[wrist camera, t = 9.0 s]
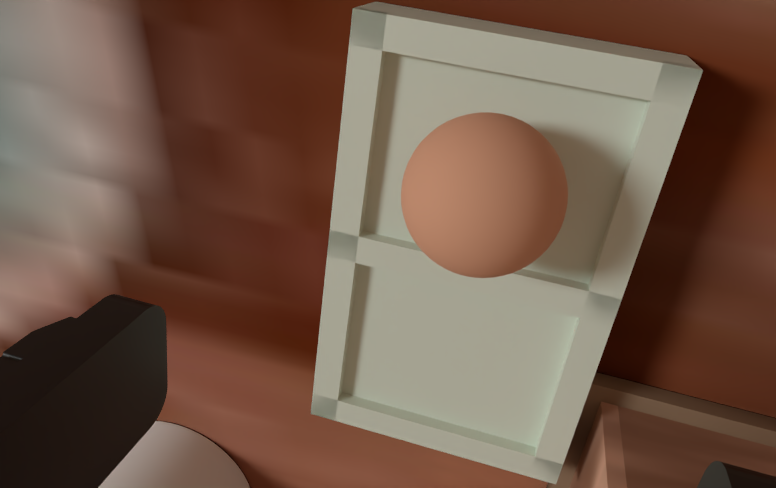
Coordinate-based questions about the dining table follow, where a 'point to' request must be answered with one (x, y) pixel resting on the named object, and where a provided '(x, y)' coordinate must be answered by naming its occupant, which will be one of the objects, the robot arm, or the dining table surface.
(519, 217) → the ball terracotta
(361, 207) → the pocket board
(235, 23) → the dining table surface
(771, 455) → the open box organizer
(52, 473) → the robot arm
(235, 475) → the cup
